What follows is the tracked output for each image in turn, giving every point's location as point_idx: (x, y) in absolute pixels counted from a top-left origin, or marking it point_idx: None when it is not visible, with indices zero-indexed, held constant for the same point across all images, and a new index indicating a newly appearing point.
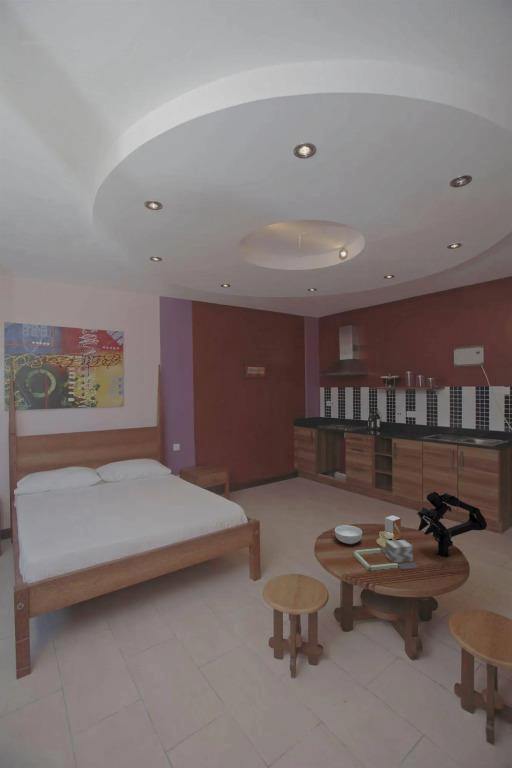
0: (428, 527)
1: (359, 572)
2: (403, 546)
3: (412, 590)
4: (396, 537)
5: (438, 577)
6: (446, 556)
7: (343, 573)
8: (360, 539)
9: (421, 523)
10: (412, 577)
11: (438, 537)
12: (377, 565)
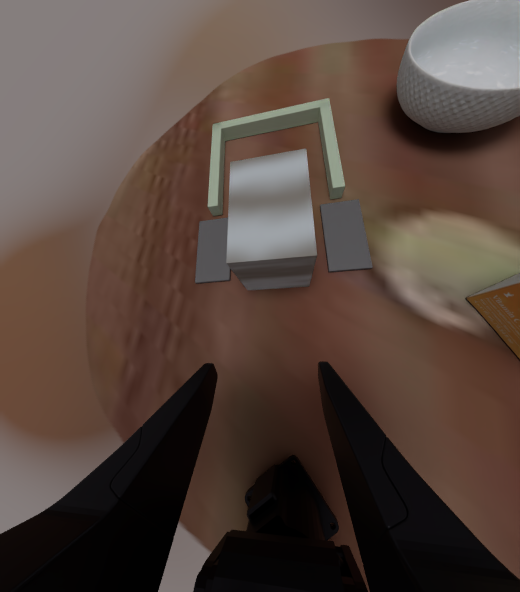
0: (145, 458)
1: (217, 116)
2: (231, 211)
3: (109, 208)
4: (505, 324)
5: (128, 315)
6: (248, 491)
7: (222, 85)
8: (426, 120)
9: (372, 469)
10: (155, 235)
11: (238, 551)
12: (217, 147)
